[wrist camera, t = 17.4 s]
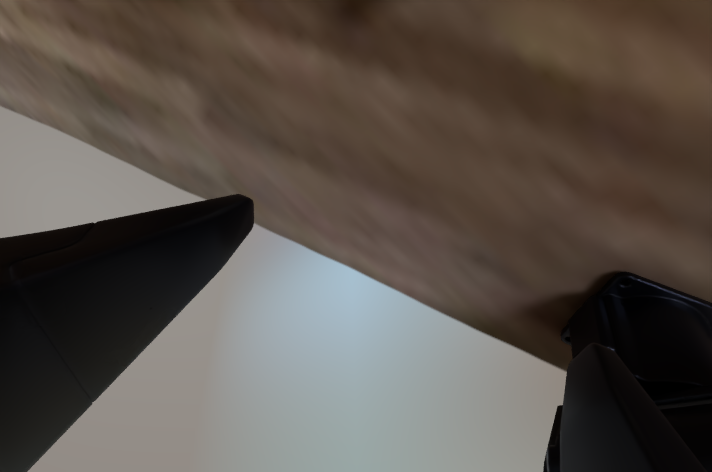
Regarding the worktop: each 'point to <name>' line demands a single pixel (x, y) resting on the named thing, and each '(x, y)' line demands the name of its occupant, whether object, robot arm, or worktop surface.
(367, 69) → the worktop surface
